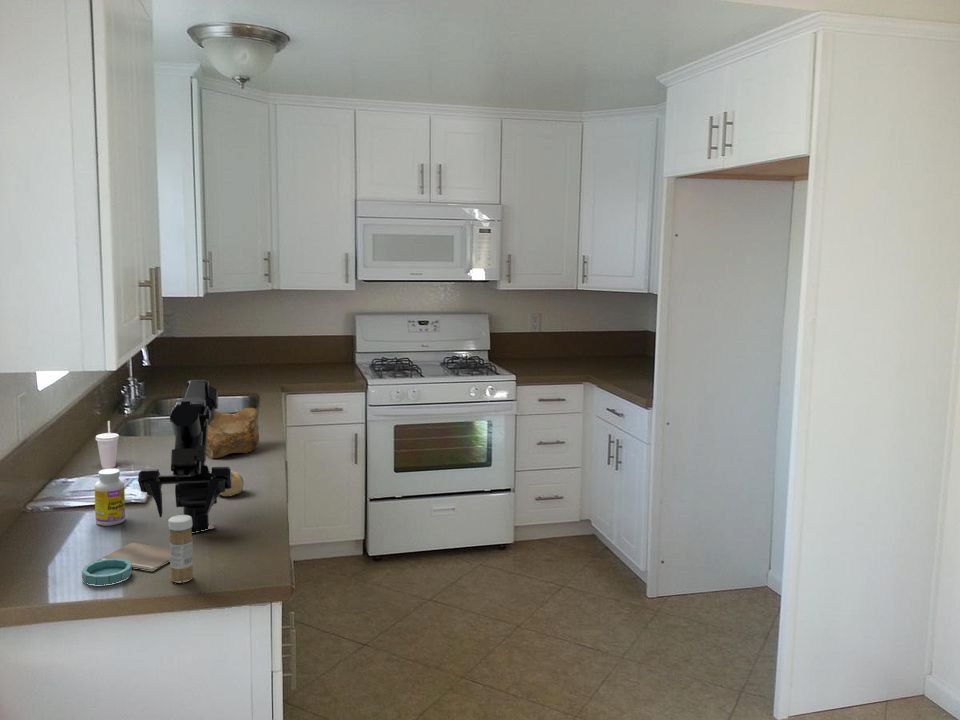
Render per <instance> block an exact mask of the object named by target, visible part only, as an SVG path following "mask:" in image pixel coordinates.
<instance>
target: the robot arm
mask: <svg viewBox="0 0 960 720" xmlns="http://www.w3.org/2000/svg"><path fill="white" fill-rule="evenodd" d="M218 393H219V392H218V389H216V388H215V387H214V386H212V385H210V383H209V380H206V379H190V380H188V381H187V384H186V387H185V388H183V389H182V398H180V399H178V400H177V401H176V403H175V406H172V408H171V411H170V414H169V422H170V424H171V428H172V433H173V436H174V437H175V439H174V448H172V449H171V453H170V454H171V455H170V457H171V459H170V461H171V462H170V470H171V471H170V472H172V474H161V472H160V469H159V468H151V469H150V468H149V469H141V470H140V471H139V472H138V476H137V477H138V478H137V482H138V485H139V488H140V491H141V492H142V493H146V495H147V496H152V498H153V501H154V502H155V504H156V508H157V511H158V516H159V518H162V517H163V513H164V512H163V493H162V485H173V484H174V485H175V488H174V494H175V496H174V497H175V507H176V508H182V509H183V511H182V512H183V514H182V515H188V516H191V517H192V532H196V531H201V530H205V529H208V526H209V523H210V522H209V513H210V511H211V509H212V507H213V506H214V505H215V504H218V501H217V500H218V497H219V496H220V495H219V494H220V493H221V492H225V489H230V488H231V487H232V477H231V471H232V469H231V468H230V467H229V466H212V467H211V470H209V466H208V465H207V464H206V461H207V460H206V458H207V453H206V448H207V433H208V424H209V423H210V422H211V421H212V420H213V419H214V418H215V410H216V411H217V410H218V409H219V394H218ZM210 471H211V472H210Z"/></svg>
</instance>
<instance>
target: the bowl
mask: <svg viewBox="0 0 960 720" xmlns="http://www.w3.org/2000/svg"><path fill="white" fill-rule="evenodd" d="M132 571H133V569H132V563H130V562H129V561H128V560H124V559H117V558H116V559H104V560H100V561H97V560H95V561H92V562H90V563H88V564H87V565H84V567H83V569H82V570H81V578H82V582H83V581H84V582H85V583H88V584H95V585H104V584H105V585H106V584H112V583H116V582H119V581H121V580H124V579H126V578H127V577H129V576H130V575H131V573H132ZM132 574H133V573H132ZM131 576H132V575H131ZM84 582H83V583H84ZM85 583H84V584H85Z"/></svg>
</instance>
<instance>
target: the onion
mask: <svg viewBox="0 0 960 720" xmlns="http://www.w3.org/2000/svg"><path fill="white" fill-rule="evenodd" d="M231 477H232V487H231V488H230V489H225V492H221V493H220V494H219V496H220V495H222V496H221V497H231V496H230V495H233V496H236V495H235V494H237V495H239V494H240V493H241V492H242V491H243V489H244V485H245V481H244V479H243V477H242V475H241V474H240V473H238V472H236V471H234V470H231ZM238 493H239V494H238Z"/></svg>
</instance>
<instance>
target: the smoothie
mask: <svg viewBox="0 0 960 720" xmlns="http://www.w3.org/2000/svg"><path fill="white" fill-rule="evenodd" d="M119 439H120V435H119V434H118V433H116V432H111V421H110V420H108V421H107V432H105V433H100V434H97V435H96V436H95V441H96V442H97V449H98V454H99V459H100V464H101V465H100V466H101V468H102V469H103V470H104V469H115V468H116V463H117V462H116V461H117V453H118V442H119Z"/></svg>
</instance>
